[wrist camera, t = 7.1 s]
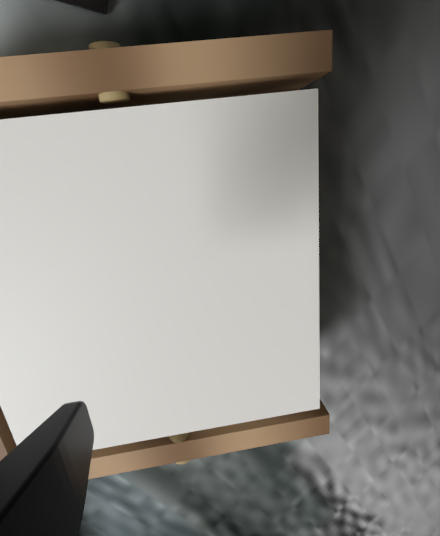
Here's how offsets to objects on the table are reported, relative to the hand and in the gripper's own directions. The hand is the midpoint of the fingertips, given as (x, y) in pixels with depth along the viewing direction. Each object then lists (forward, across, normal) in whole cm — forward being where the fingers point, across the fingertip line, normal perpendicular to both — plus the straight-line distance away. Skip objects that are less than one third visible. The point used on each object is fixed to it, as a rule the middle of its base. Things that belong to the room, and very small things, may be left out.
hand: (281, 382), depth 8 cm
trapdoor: (+9, +4, 0) cm, 9 cm away
